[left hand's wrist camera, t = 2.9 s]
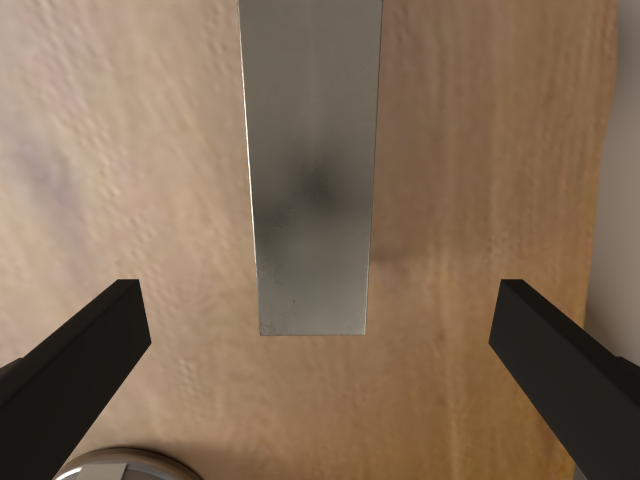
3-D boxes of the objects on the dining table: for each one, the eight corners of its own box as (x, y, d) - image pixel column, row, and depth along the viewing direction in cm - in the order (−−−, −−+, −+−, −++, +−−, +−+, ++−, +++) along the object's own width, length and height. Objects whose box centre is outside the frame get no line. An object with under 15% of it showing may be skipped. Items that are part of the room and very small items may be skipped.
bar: (349, 265, 25) (365, 335, 17) (277, 266, 25) (259, 336, 17) (365, -240, 16) (413, -577, 8) (254, -242, 16) (197, -581, 8)
